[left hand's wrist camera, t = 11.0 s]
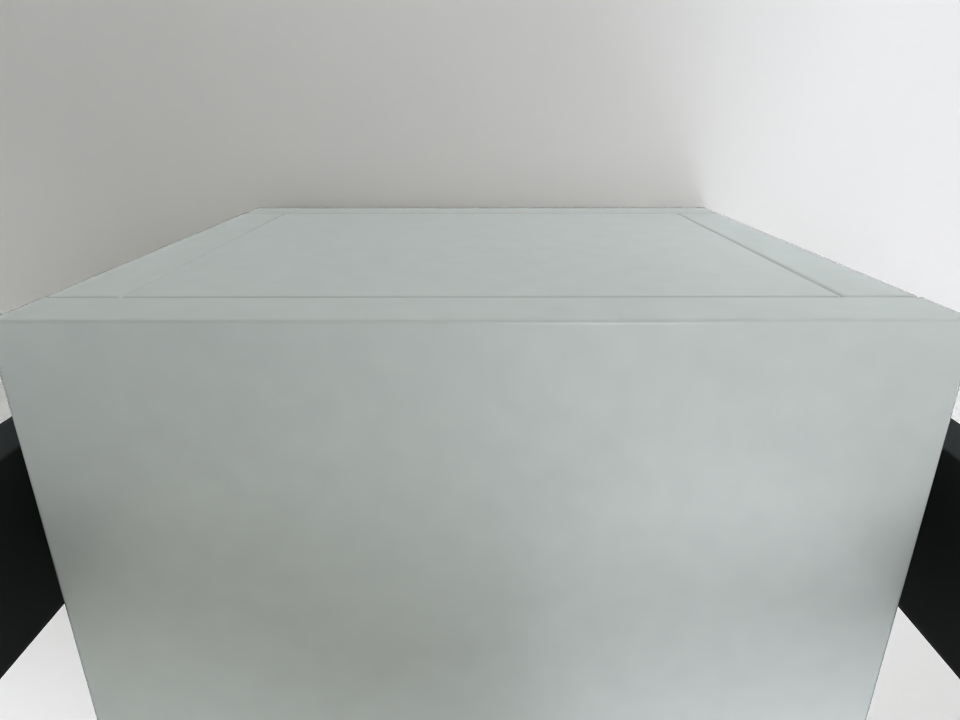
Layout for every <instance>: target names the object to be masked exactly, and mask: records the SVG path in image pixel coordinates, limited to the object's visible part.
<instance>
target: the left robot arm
mask: <svg viewBox="0 0 960 720" xmlns="http://www.w3.org/2000/svg"><path fill="white" fill-rule="evenodd" d="M63 604H64V599H63V595H62V592H61V588H60V585H59V581H58V578H57V574H56V571H55V567H54V563H53V560H52V556H51V553H50V549H49V546H48V542H47V538H46V535H45V531H44V528H43V524H42V521H41V517H40V514H39V510H38V506H37V503H36V499H35V496H34V492H33V489H32V485H31V482H30V478H29V474H28V471H27V467H26V464H25V460H24V457H23V453H22V449H21V446H20V442H19V439H18V435H17V432H16V428H15V425H14V421H13V417H10V418H9V419H7V420H6V421H4V422H3V423H1V424H0V679H1V677H2V676H3V675H4V674H5V673H6V671H7V670H8V669H9V668H10V667H11V666H12V664H13V663H14V662H15V661H16V660H17V659H18V657H19V656H20V655H21V654H22V653H23V651H24V650H25V649H26V648H27V647H28V646H29V644H30V643H31V642H32V641H33V640H34V638H35V637H36V636H37V635H38V634H39V633H40V631H41V630H42V629H43V628H44V627H45V626H46V624H47V623H48V622H49V621H50V620H51V618H52V617H53V616H54V615H55V614H56V613H57V611H58V610H59V609H60V608H61V607H62V605H63ZM898 607H899V608H900V609H901V610H902V611H903V613H904V614H905V615H906V616H907V617H908V618H909V620H910V621H911V622H912V623H913V624H914V626H915V627H916V628H917V629H918V630H919V631H920V633H921V634H922V635H923V636H924V637H925V638H926V640H927V641H928V642H929V643H930V644H931V646H932V647H933V648H934V649H935V650H936V651H937V653H938V654H939V655H940V656H941V657H942V659H943V660H944V661H945V662H946V663H947V664H948V666H949V667H950V668H951V669H952V670H953V671H954V673H955V674H956V675H957V676H958V677H959V679H960V424H959V423H957V422H956V421H954V420H953V419H950V422H949V426H948V429H947V433H946V436H945V440H944V444H943V447H942V451H941V454H940V458H939V461H938V465H937V469H936V472H935V476H934V479H933V483H932V486H931V490H930V493H929V497H928V501H927V504H926V508H925V511H924V515H923V518H922V522H921V525H920V529H919V533H918V536H917V540H916V543H915V547H914V550H913V554H912V558H911V561H910V565H909V568H908V572H907V575H906V579H905V582H904V586H903V590H902V593H901V597H900V600H899V604H898Z"/></svg>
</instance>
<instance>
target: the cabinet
mask: <svg viewBox="0 0 960 720" xmlns="http://www.w3.org/2000/svg"><path fill="white" fill-rule="evenodd" d="M0 375H1V378H2V382H3V385H4V389H5V393H6V396H7V400H8V403H9V407H10V410H11V414H12V417H13V421H14V425H15V428H16V432H17V435H18V439H19V442H20V446H21V449H22V453H23V457H24V460H25V464H26V467H27V471H28V474H29V478H30V482H31V485H32V489H33V492H34V496H35V499H36V503H37V506H38V510H39V514H40V517H41V521H42V524H43V528H44V531H45V535H46V538H47V542H48V546H49V549H50V553H51V556H52V560H53V563H54V567H55V571H56V574H57V578H58V581H59V585H60V588H61V592H62V595H63V599H64V603H65V606H66V610H67V613H68V617H69V620H70V624H71V627H72V631H73V635H74V638H75V642H76V645H77V649H78V652H79V656H80V660H81V663H82V667H83V670H84V674H85V677H86V681H87V684H88V688H89V692H90V695H91V699H92V702H93V706H94V709H95V713H96V716H97V720H866V718H867V714H868V711H869V707H870V703H871V700H872V696H873V693H874V689H875V686H876V682H877V679H878V675H879V671H880V668H881V664H882V661H883V657H884V654H885V650H886V647H887V643H888V639H889V636H890V632H891V629H892V625H893V622H894V618H895V614H896V611H897V607H898V604H899V600H900V597H901V593H902V590H903V586H904V582H905V579H906V575H907V572H908V568H909V565H910V561H911V558H912V554H913V550H914V547H915V543H916V540H917V536H918V533H919V529H920V525H921V522H922V518H923V515H924V511H925V508H926V504H927V501H928V497H929V493H930V490H931V486H932V483H933V479H934V476H935V472H936V469H937V465H938V461H939V458H940V454H941V451H942V447H943V444H944V440H945V436H946V433H947V429H948V426H949V422H950V419H951V415H952V412H953V408H954V404H955V401H956V397H957V394H958V390H959V387H960V313H958V312H956V311H954V310H951V309H949V308H946V307H944V306H942V305H939V304H937V303H934V302H932V301H930V300H927V299H925V298H922V297H917V296H915V295H913V294H910V293H908V292H906V291H903V290H901V289H898V288H896V287H894V286H891V285H889V284H886V283H884V282H882V281H879V280H877V279H874V278H872V277H870V276H867V275H865V274H862V273H860V272H858V271H855V270H853V269H850V268H848V267H846V266H843V265H841V264H838V263H836V262H834V261H831V260H829V259H826V258H824V257H822V256H819V255H817V254H814V253H812V252H810V251H807V250H805V249H802V248H800V247H798V246H795V245H793V244H790V243H788V242H786V241H783V240H781V239H778V238H776V237H774V236H771V235H769V234H766V233H764V232H762V231H759V230H757V229H754V228H752V227H750V226H747V225H745V224H742V223H740V222H738V221H735V220H733V219H730V218H728V217H726V216H723V215H721V214H718V213H716V212H714V211H711V210H709V209H706V208H256V209H254V210H252V211H249V212H247V213H244V214H241V215H239V216H237V217H234V218H232V219H229V220H227V221H225V222H222V223H220V224H217V225H215V226H213V227H210V228H208V229H206V230H203V231H201V232H198V233H196V234H194V235H191V236H189V237H186V238H184V239H182V240H179V241H177V242H175V243H172V244H170V245H167V246H165V247H163V248H160V249H158V250H155V251H153V252H151V253H148V254H146V255H144V256H141V257H139V258H136V259H134V260H132V261H129V262H127V263H125V264H122V265H120V266H117V267H115V268H113V269H110V270H108V271H105V272H103V273H101V274H98V275H96V276H94V277H91V278H89V279H86V280H84V281H82V282H79V283H77V284H74V285H72V286H70V287H67V288H65V289H63V290H60V291H58V292H55V293H53V294H51V295H48V296H46V297H45V298H40V299H38V300H35V301H33V302H31V303H28V304H26V305H23V306H21V307H19V308H16V309H14V310H12V311H9V312H7V313H4V314H2V315H0Z"/></svg>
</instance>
